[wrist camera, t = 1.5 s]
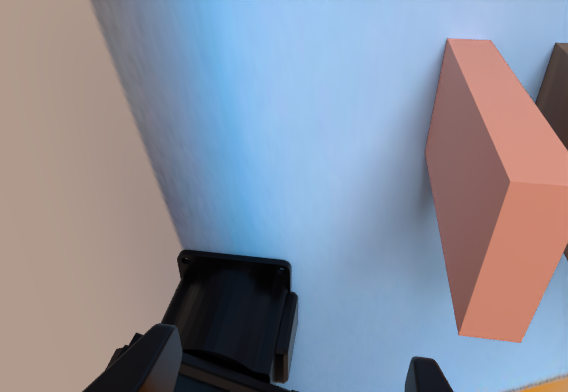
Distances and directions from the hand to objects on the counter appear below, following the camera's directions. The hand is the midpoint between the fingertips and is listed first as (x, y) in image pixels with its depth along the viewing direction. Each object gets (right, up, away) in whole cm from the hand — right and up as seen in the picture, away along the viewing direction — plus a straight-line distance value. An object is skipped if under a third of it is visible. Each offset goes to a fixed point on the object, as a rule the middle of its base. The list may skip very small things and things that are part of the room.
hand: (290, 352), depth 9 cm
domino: (+7, +7, +10) cm, 14 cm away
